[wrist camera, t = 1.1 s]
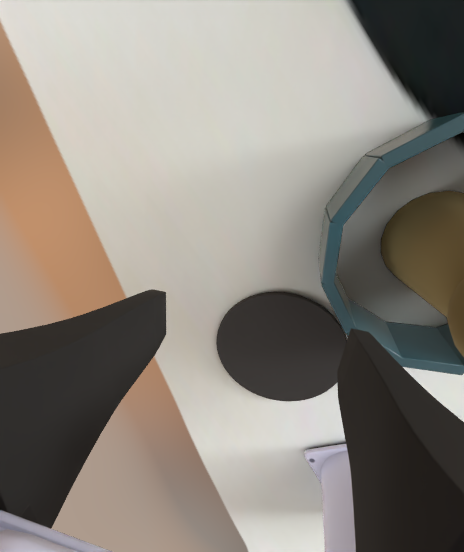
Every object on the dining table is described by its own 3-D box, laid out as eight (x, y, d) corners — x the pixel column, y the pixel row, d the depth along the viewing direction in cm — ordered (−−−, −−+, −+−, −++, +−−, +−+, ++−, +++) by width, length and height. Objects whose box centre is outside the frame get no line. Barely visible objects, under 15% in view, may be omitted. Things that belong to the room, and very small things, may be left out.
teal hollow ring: (597, 292, 17) (675, 330, 13) (364, 355, 22) (375, 394, 18) (547, 57, 14) (633, 25, 10) (286, 195, 19) (282, 206, 15)
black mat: (368, 381, 23) (369, 385, 23) (253, 408, 27) (252, 411, 26) (313, 270, 20) (313, 272, 20) (195, 318, 24) (193, 320, 24)
